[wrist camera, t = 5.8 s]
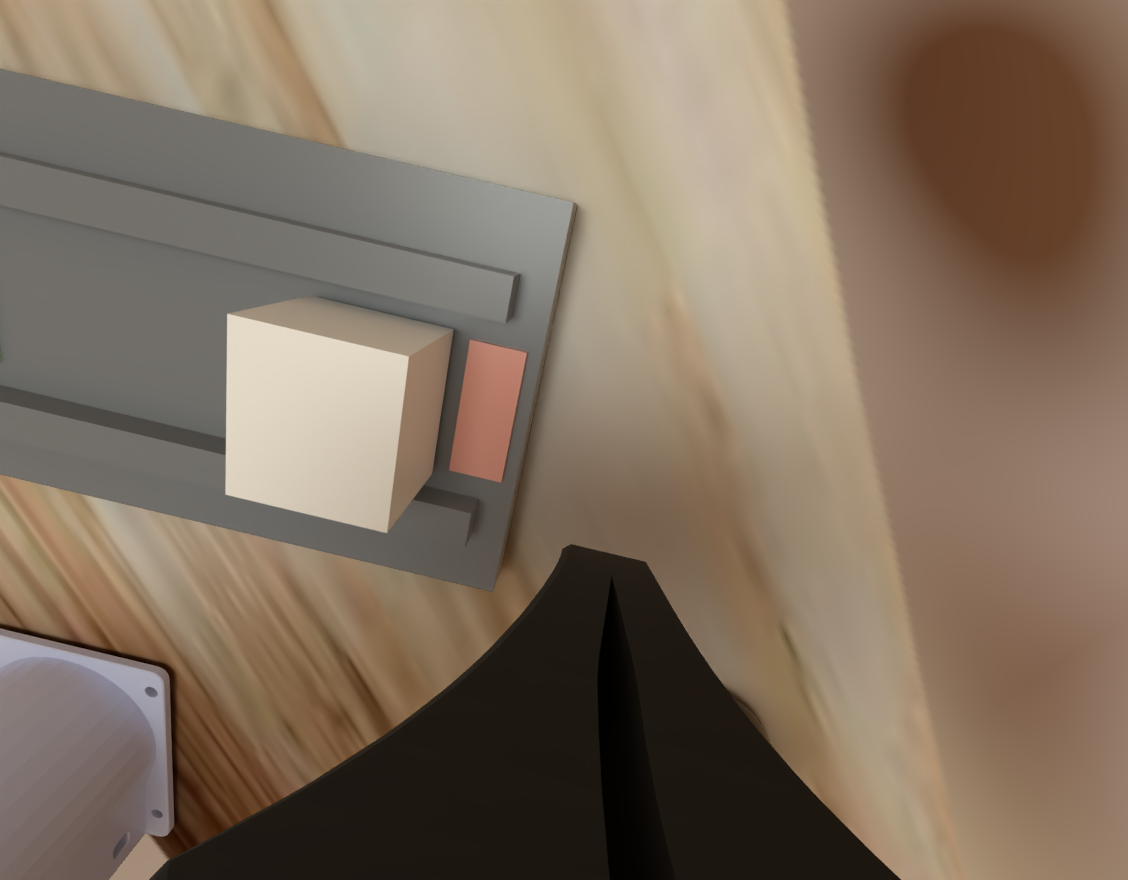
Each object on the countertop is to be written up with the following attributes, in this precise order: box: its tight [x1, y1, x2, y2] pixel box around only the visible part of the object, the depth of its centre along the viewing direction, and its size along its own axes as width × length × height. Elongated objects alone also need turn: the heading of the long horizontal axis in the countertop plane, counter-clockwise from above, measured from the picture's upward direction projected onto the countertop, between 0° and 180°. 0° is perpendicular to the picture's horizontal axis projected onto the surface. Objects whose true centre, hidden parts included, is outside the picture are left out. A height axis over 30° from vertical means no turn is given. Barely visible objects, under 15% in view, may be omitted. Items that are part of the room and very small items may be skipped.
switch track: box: [0, 69, 577, 592], centre depth 17 cm, size 12×18×2 cm, turn 78°
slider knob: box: [225, 296, 454, 533], centre depth 15 cm, size 4×4×4 cm
